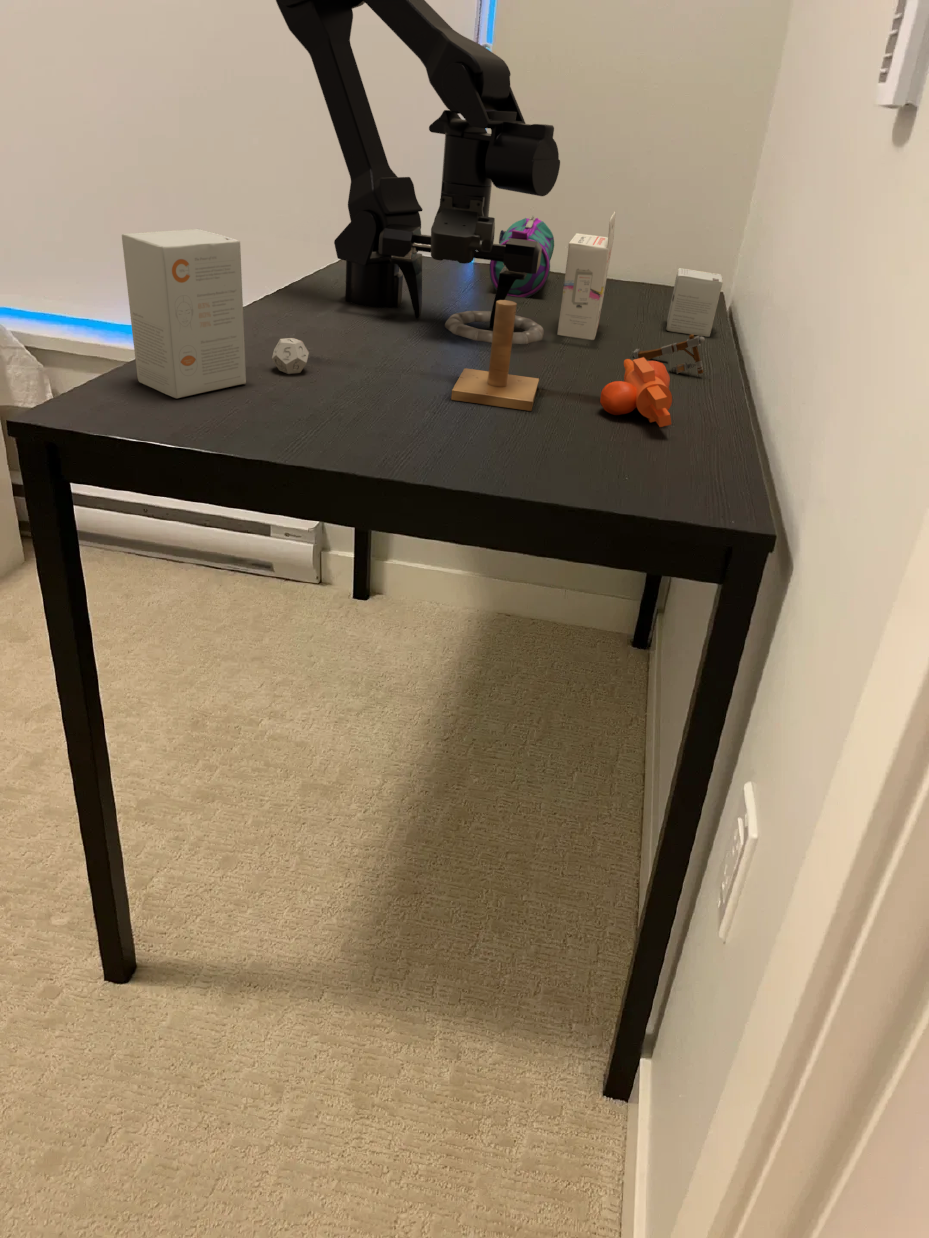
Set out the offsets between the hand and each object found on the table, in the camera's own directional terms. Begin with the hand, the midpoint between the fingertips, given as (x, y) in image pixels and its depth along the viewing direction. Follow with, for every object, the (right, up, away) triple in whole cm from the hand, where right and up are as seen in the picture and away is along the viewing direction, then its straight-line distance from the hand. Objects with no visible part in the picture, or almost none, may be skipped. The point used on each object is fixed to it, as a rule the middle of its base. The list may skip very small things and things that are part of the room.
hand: (454, 323), depth 109 cm
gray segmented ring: (+5, -1, 0) cm, 5 cm away
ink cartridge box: (+16, -1, +5) cm, 16 cm away
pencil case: (+9, +14, +27) cm, 31 cm away
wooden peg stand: (+4, -14, -19) cm, 23 cm away
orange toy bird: (+18, -16, -21) cm, 32 cm away
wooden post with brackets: (+25, -7, -5) cm, 26 cm away
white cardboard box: (+32, +4, +14) cm, 36 cm away
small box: (-25, -14, -25) cm, 38 cm away
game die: (-17, -11, -19) cm, 27 cm away
